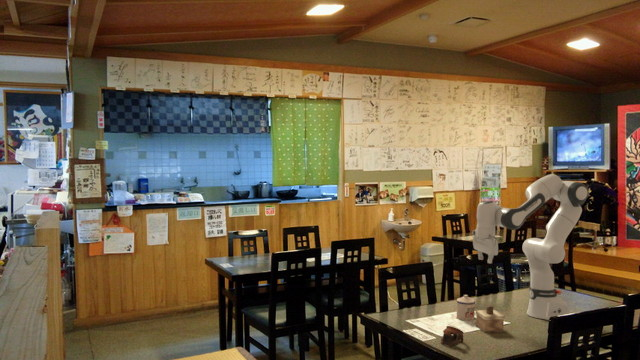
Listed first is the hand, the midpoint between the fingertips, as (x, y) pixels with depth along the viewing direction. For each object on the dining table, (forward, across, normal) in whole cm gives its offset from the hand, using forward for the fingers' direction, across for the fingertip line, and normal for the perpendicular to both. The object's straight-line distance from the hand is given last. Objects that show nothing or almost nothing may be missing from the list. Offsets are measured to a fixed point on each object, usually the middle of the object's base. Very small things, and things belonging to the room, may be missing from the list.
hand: (485, 261), depth 248 cm
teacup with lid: (+29, +4, +7) cm, 30 cm away
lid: (+23, -14, +4) cm, 27 cm away
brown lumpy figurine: (+30, -31, +29) cm, 51 cm away
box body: (+29, -14, +4) cm, 32 cm away
